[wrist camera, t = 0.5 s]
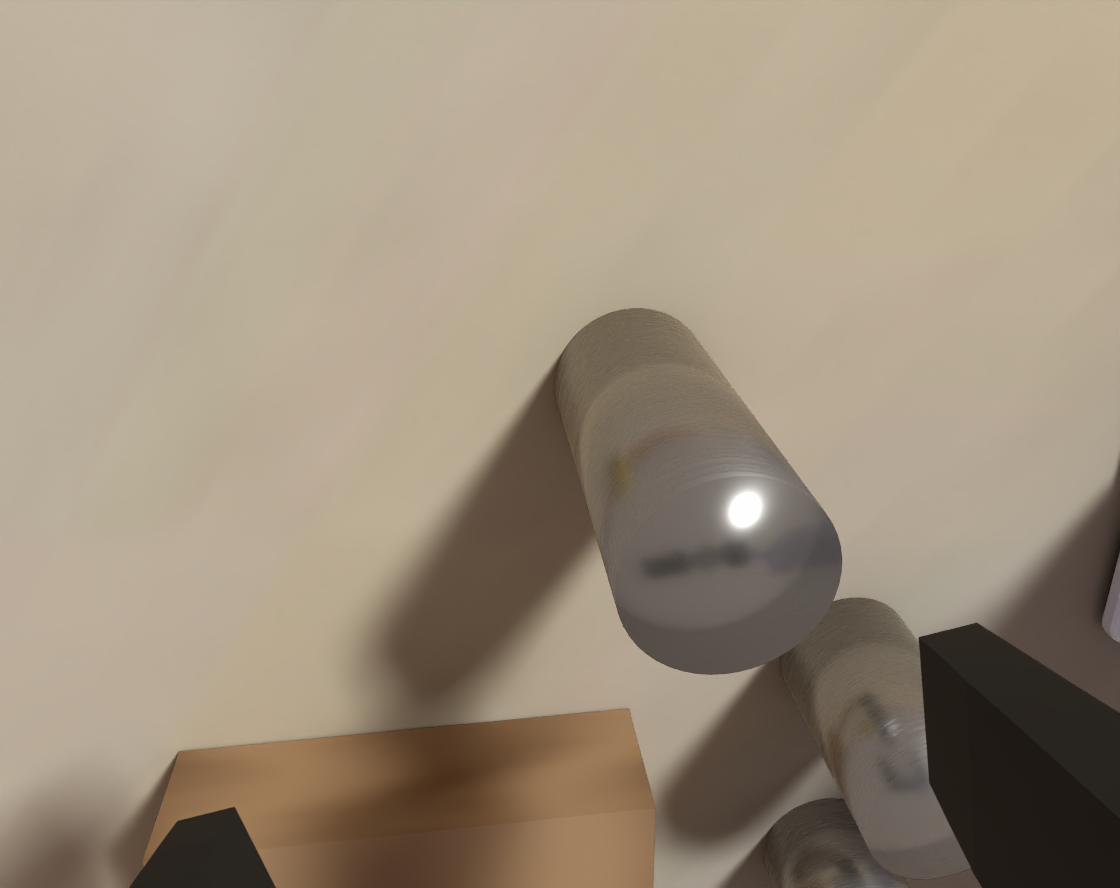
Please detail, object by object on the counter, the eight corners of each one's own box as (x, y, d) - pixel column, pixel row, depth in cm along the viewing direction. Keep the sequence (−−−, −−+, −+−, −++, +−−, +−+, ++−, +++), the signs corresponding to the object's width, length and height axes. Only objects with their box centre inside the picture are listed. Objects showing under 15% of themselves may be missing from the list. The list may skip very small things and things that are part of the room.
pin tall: (710, 303, 18) (853, 468, 12) (704, 446, 20) (830, 663, 13) (553, 313, 18) (615, 487, 12) (556, 457, 19) (614, 683, 13)
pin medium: (915, 592, 22) (1039, 749, 17) (898, 698, 23) (1009, 870, 19) (785, 603, 22) (876, 766, 17) (776, 710, 23) (858, 887, 18)
